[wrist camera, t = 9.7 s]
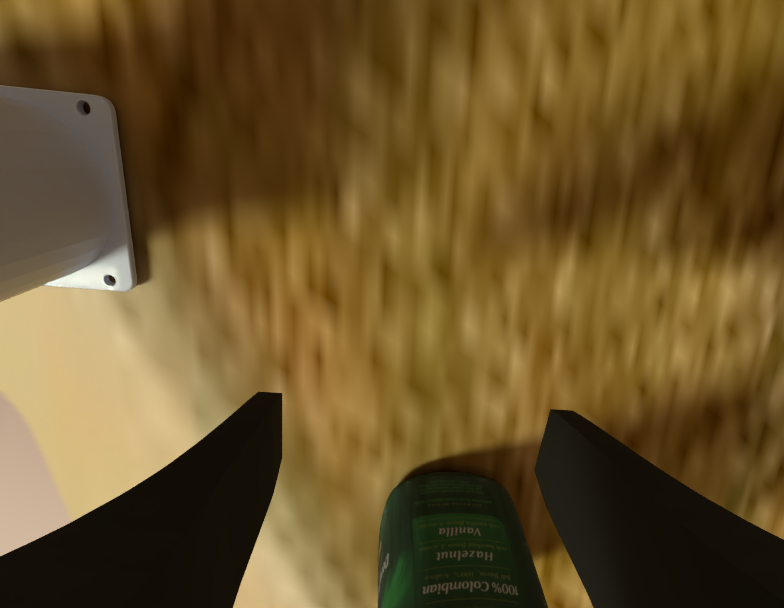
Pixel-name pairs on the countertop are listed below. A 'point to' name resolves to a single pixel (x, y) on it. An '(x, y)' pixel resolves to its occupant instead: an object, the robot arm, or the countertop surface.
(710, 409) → the countertop surface
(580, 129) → the countertop surface
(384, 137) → the countertop surface
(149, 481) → the robot arm
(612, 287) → the countertop surface
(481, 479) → the coffee jar
